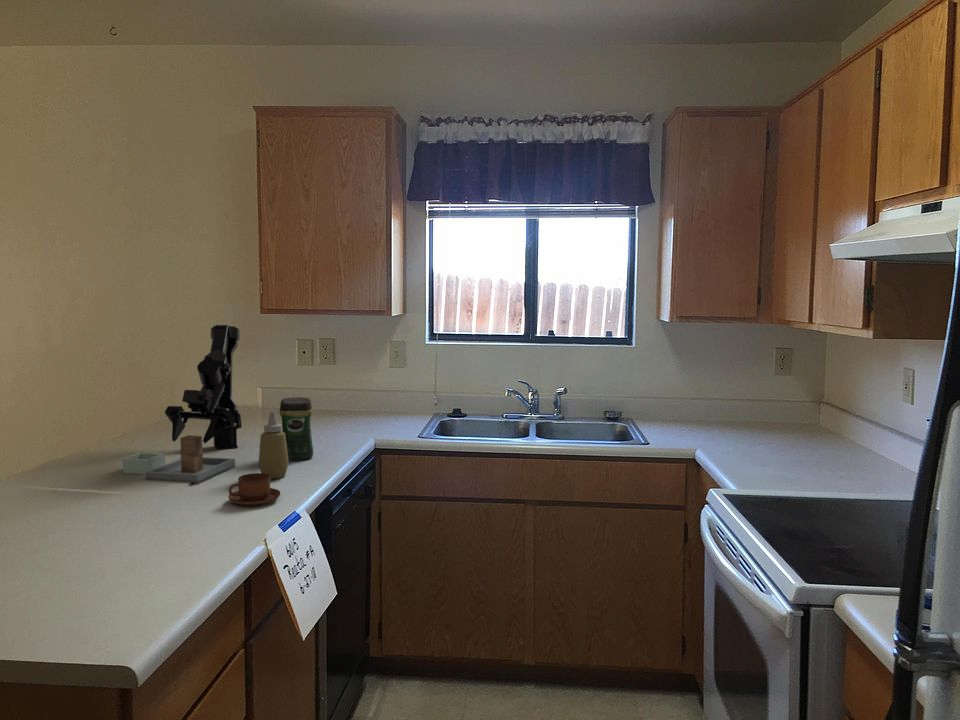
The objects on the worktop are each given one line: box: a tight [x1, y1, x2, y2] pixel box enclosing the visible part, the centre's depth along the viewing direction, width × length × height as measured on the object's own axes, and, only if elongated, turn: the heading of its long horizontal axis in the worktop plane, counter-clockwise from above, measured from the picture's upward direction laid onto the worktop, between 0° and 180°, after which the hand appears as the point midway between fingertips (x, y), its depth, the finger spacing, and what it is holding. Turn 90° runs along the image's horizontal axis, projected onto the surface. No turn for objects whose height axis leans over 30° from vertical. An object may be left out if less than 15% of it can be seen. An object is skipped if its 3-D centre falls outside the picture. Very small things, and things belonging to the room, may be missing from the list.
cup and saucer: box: [228, 472, 281, 507], centre depth 174 cm, size 12×12×6 cm
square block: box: [180, 434, 204, 473], centre depth 199 cm, size 4×4×10 cm
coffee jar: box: [279, 396, 314, 461], centre depth 218 cm, size 10×8×19 cm
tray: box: [145, 456, 236, 485], centre depth 199 cm, size 19×15×2 cm
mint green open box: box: [122, 452, 166, 475], centre depth 200 cm, size 8×8×4 cm
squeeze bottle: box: [257, 410, 290, 480], centre depth 196 cm, size 8×8×18 cm
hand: (188, 441), depth 197 cm, fingers open, 9 cm apart
